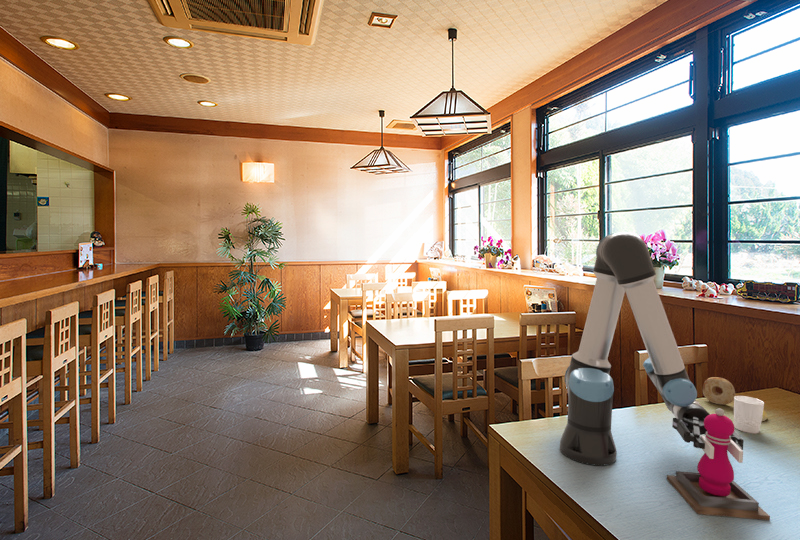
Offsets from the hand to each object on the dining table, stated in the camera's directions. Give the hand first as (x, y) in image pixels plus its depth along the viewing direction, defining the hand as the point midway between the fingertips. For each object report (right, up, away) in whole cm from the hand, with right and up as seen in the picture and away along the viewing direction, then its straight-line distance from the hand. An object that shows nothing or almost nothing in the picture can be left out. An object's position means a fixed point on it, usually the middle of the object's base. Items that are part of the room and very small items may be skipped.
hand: (726, 454), depth 102 cm
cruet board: (+1, -13, +6) cm, 14 cm away
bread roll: (+51, -10, +57) cm, 77 cm away
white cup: (+41, -11, +46) cm, 63 cm away
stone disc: (+48, -9, +70) cm, 85 cm away
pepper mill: (+1, -11, +6) cm, 12 cm away
